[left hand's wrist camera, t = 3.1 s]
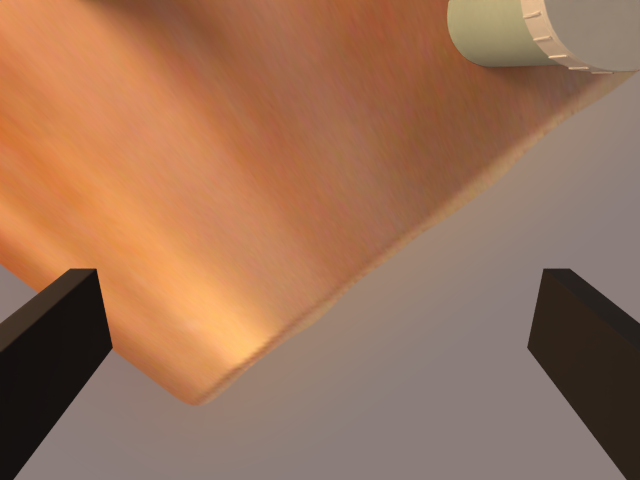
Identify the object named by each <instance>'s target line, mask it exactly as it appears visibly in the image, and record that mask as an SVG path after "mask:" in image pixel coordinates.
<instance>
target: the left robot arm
mask: <svg viewBox="0 0 640 480" xmlns="http://www.w3.org/2000/svg"><path fill="white" fill-rule="evenodd" d="M112 348H113V347H112V342H111V337H110V332H109V327H108V322H107V318H106V313H105V308H104V303H103V298H102V293H101V289H100V284H99V279H98V274H97V269H69V270H68V271H67V272H65V273H64V274H63V275H62V276H60V277H59V278H58V279H56V280H55V281H54V282H53V283H51V284H50V285H49V286H48V287H46V288H45V289H44V290H42V291H41V292H40V293H39V294H37V295H36V296H35V297H34V298H32V299H31V300H30V301H29V302H27V303H26V304H25V305H23V306H22V307H21V308H20V309H18V310H17V311H16V312H14V313H13V314H12V315H11V316H9V317H8V318H7V319H6V320H4V321H3V322H2V323H0V480H13V479H14V478H15V477H16V475H17V474H18V473H19V471H20V470H21V469H22V467H23V466H24V465H25V463H26V462H27V461H28V460H29V458H30V457H31V456H32V454H33V453H34V452H35V450H36V449H37V448H38V446H39V445H40V444H41V442H42V441H43V440H44V438H45V437H46V436H47V434H48V433H49V432H50V430H51V429H52V428H53V426H54V425H55V424H56V422H57V421H58V420H59V418H60V417H61V416H62V414H63V413H64V412H65V410H66V409H67V408H68V406H69V405H70V404H71V402H72V401H73V400H74V398H75V397H76V396H77V395H78V393H79V392H80V391H81V389H82V388H83V387H84V385H85V384H86V383H87V381H88V380H89V379H90V377H91V376H92V375H93V373H94V372H95V371H96V369H97V368H98V367H99V365H100V364H101V363H102V361H103V360H104V359H105V357H106V356H107V355H108V353H109V352H110V351H111V349H112ZM527 348H528V349H529V351H530V352H531V353H532V355H533V356H534V357H535V359H536V360H537V361H538V363H539V364H540V365H541V367H542V368H543V369H544V371H545V372H546V373H547V375H548V376H549V377H550V379H551V380H552V381H553V383H554V384H555V385H556V387H557V388H558V389H559V391H560V392H561V393H562V395H563V396H564V397H565V398H566V400H567V401H568V402H569V404H570V405H571V406H572V408H573V409H574V410H575V412H576V413H577V414H578V416H579V417H580V418H581V420H582V421H583V422H584V424H585V425H586V426H587V428H588V429H589V430H590V432H591V433H592V434H593V436H594V437H595V438H596V440H597V441H598V442H599V444H600V445H601V446H602V448H603V449H604V450H605V452H606V453H607V454H608V456H609V457H610V458H611V460H612V461H613V462H614V464H615V465H616V466H617V467H618V469H619V470H620V471H621V473H622V474H623V475H624V477H625V478H626V479H627V480H640V323H638V322H637V321H636V320H634V319H633V318H632V317H631V316H629V315H628V314H627V313H626V312H624V311H623V310H622V309H620V308H619V307H618V306H617V305H615V304H614V303H613V302H612V301H610V300H609V299H608V298H606V297H605V296H604V295H603V294H601V293H600V292H599V291H598V290H596V289H595V288H594V287H592V286H591V285H590V284H589V283H587V282H586V281H585V280H584V279H582V278H581V277H580V276H578V275H577V274H576V273H575V272H573V271H572V270H571V269H543V274H542V279H541V284H540V289H539V293H538V298H537V303H536V308H535V313H534V318H533V322H532V327H531V332H530V337H529V342H528V347H527Z"/></svg>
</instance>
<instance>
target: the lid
mask: <svg viewBox="0 0 640 480" xmlns="http://www.w3.org/2000/svg"><path fill="white" fill-rule="evenodd" d="M521 7H522V12H523V19H525V23H526V25H527V27H528V30H529V32H530V34H531V36H532V37H533V41H535V42H536V44H537V45H538V46H539V47H540V48H541V49H542V51H543V52H544V53H546V54H547V55H548V56H549V57H548V58H549V59H553V60H555V61H556V62H558V63H560V64H561V65H564V66H566V67H569V68H568V69H570V70H580V71H588V72H591V73H592V74H614V72H626V71H639V70H640V0H521Z"/></svg>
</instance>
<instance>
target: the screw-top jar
mask: <svg viewBox="0 0 640 480" xmlns="http://www.w3.org/2000/svg"><path fill="white" fill-rule="evenodd" d="M447 21H448V29H449V33H450V36H451V39H452V41H453V43H454V45H455V47H456V48H457V50H458V51H459V52H460V53H461V54H462V55H463V56H464V57H465V58H466V59H468V60H469V61H471V62H473V63H475V64H478V65H481V66H485V67H511V66H542V65H561V64H560V63H558V62H556V61H555V60H553V59H549V58H548V57H549V56H548V55H547V54H546V53H544V52H543V51H542V49H541V48H540V47H539V46H538V45H537V44H536V42H535V41H533V37H532V36H531V34H530V32H529V30H528V27H527V25H526V23H525V19H523V12H522V7H521V0H449V4H448V12H447Z"/></svg>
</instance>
